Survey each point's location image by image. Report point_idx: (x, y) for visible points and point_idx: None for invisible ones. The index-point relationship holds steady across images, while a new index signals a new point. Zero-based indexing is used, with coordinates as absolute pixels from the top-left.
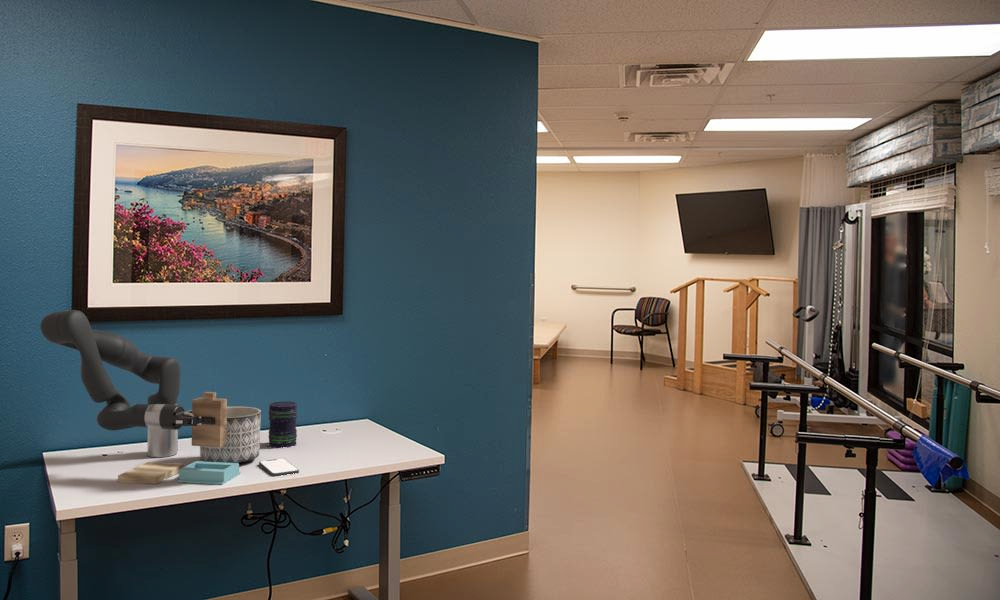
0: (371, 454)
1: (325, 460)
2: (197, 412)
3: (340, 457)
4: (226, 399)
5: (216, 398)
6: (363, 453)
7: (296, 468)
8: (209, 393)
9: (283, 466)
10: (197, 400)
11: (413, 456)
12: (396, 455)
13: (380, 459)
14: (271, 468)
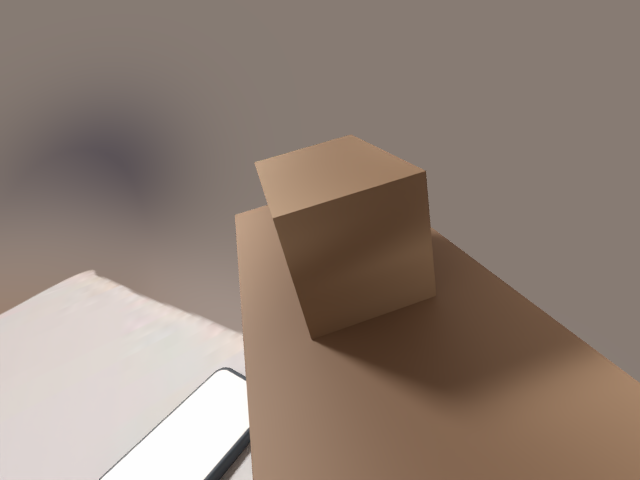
0: (33, 352)
1: (79, 401)
2: None
3: (49, 389)
4: (246, 216)
5: (249, 264)
6: (15, 370)
7: (208, 379)
8: (371, 149)
9: (191, 425)
10: (568, 341)
11: (73, 292)
12: (57, 314)
13: (89, 316)
14: (222, 442)
